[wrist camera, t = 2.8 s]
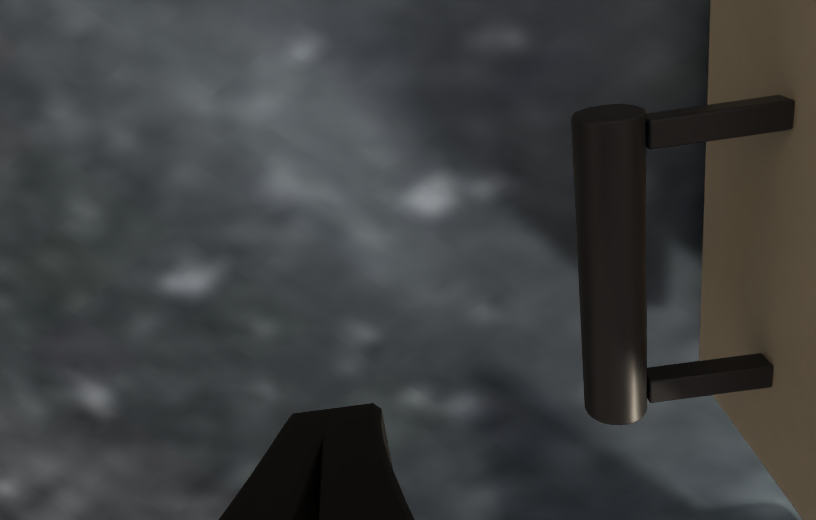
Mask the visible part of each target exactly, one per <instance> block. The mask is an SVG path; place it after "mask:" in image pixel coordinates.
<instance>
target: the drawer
mask: <svg viewBox="0 0 816 520" xmlns="http://www.w3.org/2000/svg"><path fill="white" fill-rule="evenodd" d="M571 123H572V145H573V166H574V187H575V209H576V230H577V251H578V273H579V294H580V315H581V337H582V358H583V379H584V401H585V409H586V411H587V413H588V414H589V415H590V416H591V417H592V418H594V419H595V420H597V421H599V422H602V423H605V424H610V425H626V424H630V423H633V422H636V421H638V420H639V419H641V418H642V417H643V416H644V414H645V413H646V410H647V398H648V400H649V402H650V403H654V402H662V401H669V400H677V399H685V398H693V397H700V396H708V395H713V396H714V397H715V399H716V400H717V402H718V403H719V404H720V406H721V407H722V409H723V410H724V411H725V413H726V414H727V415H728V417H729V418H730V420H731V421H732V422H733V424H734V425H735V426H736V428H737V429H738V431H739V432H740V433H741V435H742V436H743V437H744V439H745V440H746V442H747V443H748V444H749V446H750V447H751V448H752V450H753V451H754V453H755V454H756V455H757V457H758V458H759V460H760V461H761V462H762V464H763V465H764V466H765V468H766V469H767V471H768V472H769V473H770V475H771V476H772V477H773V479H774V480H775V482H776V483H777V484H778V486H779V487H780V488H781V490H782V491H783V493H784V494H785V495H786V497H787V498H788V500H789V501H790V502H791V504H792V505H793V506H794V508H795V509H796V511H797V512H798V513H799V515H800V516H801V517H802V519H803V520H816V0H711V4H710V36H709V67H708V99H707V105H704V106H697V107H690V108H683V109H676V110H669V111H662V112H655V113H648V114H646V111H645V109H644V108H642V107H639V106H635V105H629V104H609V105H600V106H594V107H589V108H585V109H582V110H580V111H577V112H575V113H574V114H573V115H572V117H571ZM701 142H706V162H705V194H704V226H703V257H702V289H701V320H700V352H699V361H695V362H688V363H680V364H673V365H665V366H657V367H650V368H647V289H646V147H647V148H648V149H651V150H652V149H659V148H666V147H673V146H680V145H687V144H694V143H701Z"/></svg>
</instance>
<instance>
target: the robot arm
mask: <svg viewBox="0 0 816 520" xmlns="http://www.w3.org/2000/svg"><path fill="white" fill-rule="evenodd" d="M219 520H414V518H413V516H412V513H411V511H410V509H409V507H408V505H407V503H406V501H405V498H404V496H403V493H402V491H401V488H400V486H399V484H398V481H397V479H396V476H395V474H394V471H393V468H392V462H391V457H390V452H389V446H388V441H387V436H386V431H385V425H384V420H383V415H382V409H381V408H379V407H378V406H376V405H375V404H373V403H370V404H363V405H355V406H347V407H340V408H332V409H325V410H317V411H310V412H302V413H294V414H292V415H291V417H290V418H289V419H288V420H287V422H286V423H285V425H284V426H283V428H282V429H281V431H280V432H279V434H278V435H277V437H276V438H275V440H274V441H273V443H272V444H271V446H270V447H269V449H268V450H267V452H266V453H265V455H264V456H263V458H262V459H261V461H260V462H259V464H258V465H257V467H256V468H255V470H254V471H253V473H252V474H251V476H250V477H249V478H248V480H247V481H246V483H245V484H244V485H243V487H242V488H241V490H240V491H239V492H238V494H237V495H236V497H235V498H234V499H233V501H232V502H231V503H230V505H229V506H228V508H227V509H226V510H225V512H224V513H223V515H222V516H221V517H220V519H219Z"/></svg>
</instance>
